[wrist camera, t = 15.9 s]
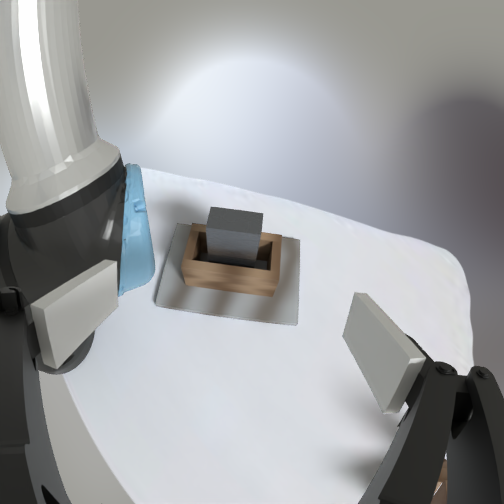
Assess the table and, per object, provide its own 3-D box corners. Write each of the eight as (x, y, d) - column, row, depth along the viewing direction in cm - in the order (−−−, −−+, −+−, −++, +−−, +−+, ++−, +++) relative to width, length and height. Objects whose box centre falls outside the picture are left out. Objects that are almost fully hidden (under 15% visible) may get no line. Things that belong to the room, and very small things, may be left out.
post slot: (156, 306, 39) (145, 287, 33) (178, 227, 46) (172, 201, 40) (296, 325, 39) (308, 310, 33) (298, 243, 46) (308, 218, 41)
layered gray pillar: (209, 276, 41) (205, 227, 30) (213, 259, 42) (210, 206, 32) (251, 282, 41) (261, 234, 31) (253, 264, 42) (263, 213, 32)
